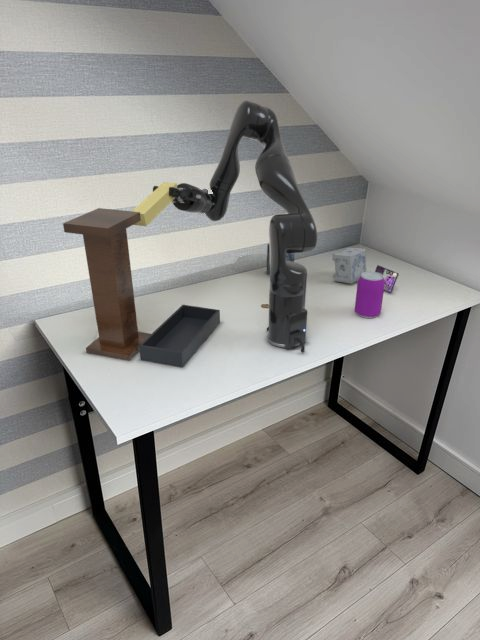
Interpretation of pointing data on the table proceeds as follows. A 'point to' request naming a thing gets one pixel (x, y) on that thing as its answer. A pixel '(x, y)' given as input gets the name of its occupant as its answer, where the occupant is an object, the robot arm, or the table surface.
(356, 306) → the beverage can
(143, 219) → the butter
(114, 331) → the shelf stand
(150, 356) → the pan
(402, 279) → the table surface
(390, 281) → the game card
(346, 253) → the incense holder
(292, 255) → the box
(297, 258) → the table surface
